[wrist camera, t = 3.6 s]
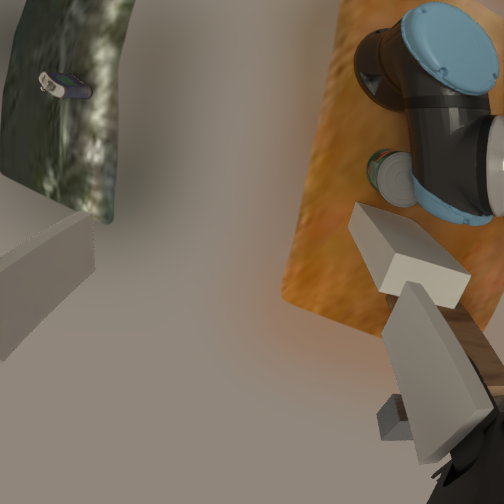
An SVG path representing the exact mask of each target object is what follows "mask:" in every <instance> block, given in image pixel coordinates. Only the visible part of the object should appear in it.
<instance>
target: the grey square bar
mask: <svg viewBox="0 0 504 504" xmlns="http://www.w3.org/2000/svg"><path fill="white" fill-rule="evenodd" d="M492 397H493V399H494V401H495V403H496V405H497V407H498V409H499V411H500V413H501V412H504V395H498V396H492ZM377 419H378V425H379V430H380V436H381V440H389V441H393V440H413V436H412V432H411V428H410V424H409V421H408V417H407V413H406V410H405V406H404V403H403V399H402V396H401V394H392V395H391V397H390V398H389V399H388V400H387V402H386V403H385V404H384V405H383V407H382V408H381V409H380V410H379V412H378V413H377Z"/></svg>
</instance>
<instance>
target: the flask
mask: <svg viewBox="0 0 504 504" xmlns="http://www.w3.org/2000/svg"><path fill="white" fill-rule="evenodd" d="M39 81H40V83H41V84H42V86H43V87H44V89H46V90H47V91H48V92H49V93H50V94H52V95H54V96H56V97H58V98H89V97H90V96H91V94H92V90H91V88H90V87H89V86H86V85H85V83H83V82H82V81H79V80H78V79H76V78H75V76H74V75H73V74H63V73H56V72H46V71H44V72H42V73H41V74H40V77H39ZM41 90H42V91H43V88H42V87H41ZM44 91H45V90H44Z"/></svg>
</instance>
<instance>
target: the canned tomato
mask: <svg viewBox="0 0 504 504" xmlns="http://www.w3.org/2000/svg"><path fill="white" fill-rule="evenodd" d="M411 166H412V162H411V154H410V153H407V152H401V151H396V150H392V149H381V150H378V151H377V152H375V153H374V154H373V155H372V156H371V157H370V159H369V161H368V164H367V170H366V173H367V178H368V181H369V182H370V184H371V185H372V186H373V187H374V188H375V189H376V190H377V191H378V192H379V193H380V194H381V195H382V196H383V197H384V198H385V200H386V201H388V202H389V203H390V204H392V205H394V206H397V207H410V206H413V205H415V204H417V203H418V201H417V199H416V196H415V193H414V183H413V178H412V174H411Z"/></svg>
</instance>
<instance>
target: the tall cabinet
mask: <svg viewBox="0 0 504 504" xmlns="http://www.w3.org/2000/svg"><path fill="white" fill-rule="evenodd" d="M385 298H386V300H387V303H388V305H389V307H390V309H391V312H392V311H393V309H394V306H395V304H396V302H397V300H398V298H399V296H396V295H391V294H387V295H386V297H385ZM436 306H437V308H438V310H439V311H440V313H441V314H442V316H443V317H444V319H445V320H446V322H447V324H448V325H449V327H450V328H451V330H452V332H453V333H454V335H455V336H456V338H457V340H458V341H459V343H460V345H461V347H462V348H463V350H464V352H465V353H466V354H467V355H468V356H469V357H470V358H471V359H472V360H473V361H474V363H475V365H476V366H477V368H478V370H479V372H480V373H479V374H481V375H482V377H483V379H484V383H486V385H487V387H488V389H489V391H490V393H491V395H492V396H498V395H504V365H503V364H502V362H501V361H500V359H499V357H498V356H497V354H496V353H495V351H494V349H493V348H492V346H491V345H490V344H489V342H488V340H487V339H486V337H485V336H484V334H483V333H482V331H481V330H480V329H479V327H478V326H477V324H476V323H475V321H474V320H473V319H472V317H471V316H470V314H469V313H468V312H467V310H466V309H465V308H464V306H463V305H462V304H461V302H460V301H458V303H457V305H456V306H455V308H454V309H451V308H447V307H443V306H438V305H436Z"/></svg>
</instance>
